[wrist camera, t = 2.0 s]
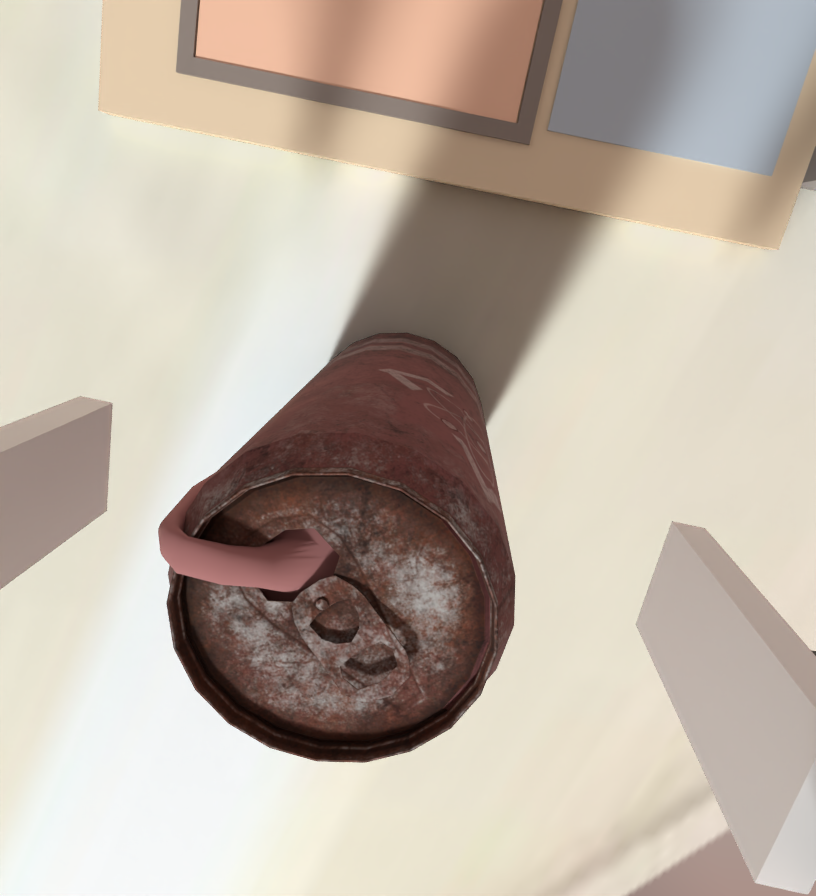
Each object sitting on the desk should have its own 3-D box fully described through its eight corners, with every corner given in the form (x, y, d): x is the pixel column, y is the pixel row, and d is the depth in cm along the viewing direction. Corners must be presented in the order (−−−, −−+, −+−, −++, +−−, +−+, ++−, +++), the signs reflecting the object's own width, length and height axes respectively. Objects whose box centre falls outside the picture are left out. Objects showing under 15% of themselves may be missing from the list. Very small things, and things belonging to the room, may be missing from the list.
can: (332, 305, 23) (164, 392, 9) (504, 361, 23) (581, 524, 10) (290, 461, 24) (100, 720, 11) (449, 511, 25) (449, 824, 11)
